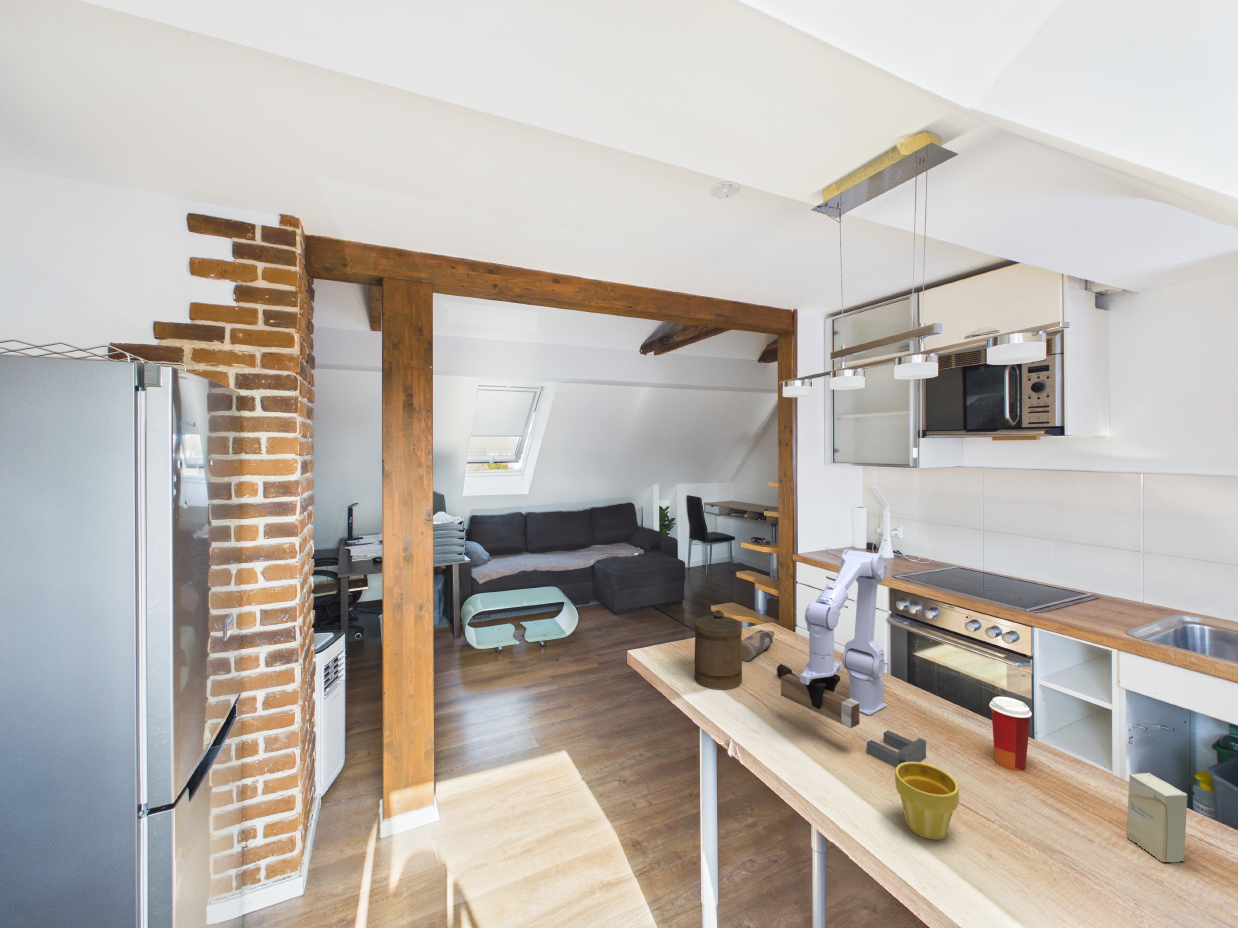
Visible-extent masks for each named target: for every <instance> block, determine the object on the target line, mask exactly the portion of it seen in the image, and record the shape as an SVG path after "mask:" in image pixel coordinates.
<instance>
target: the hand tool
mask: <svg viewBox="0 0 1238 928" xmlns="http://www.w3.org/2000/svg"><path fill="white" fill-rule="evenodd" d="M788 674H791V675H793V676H796V677H798V678H800V676H798V675H796V674H795V673H794V672H793V670H792V669H791V668H789V667H788V666H787V665H785V664H782V663H780V664H779V665H778V666H777V667H776V676H777V677H778V678H779V679H780V680H781V677H782V676H785V675H788Z"/></svg>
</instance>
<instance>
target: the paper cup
mask: <svg viewBox="0 0 1238 928" xmlns="http://www.w3.org/2000/svg"><path fill="white" fill-rule="evenodd" d="M988 706H989V708H991V709H990V710H991V719H992V720H991V721H992V723H991V724H992V737H993V741H992V742H993V752H994V754H993V755H994V760H995V763H997V764H998V765H999V766H1000V767H1002V768H1004V769H1007V770H1011V771H1015V772H1023V771H1025V770H1026V765H1027V754H1028V745H1029V734H1030V718H1031V716H1033V714H1032V711H1031V710H1030V707H1029V706H1028V704H1026V703H1025V702H1023V701H1021V700H1018V699H1015V698H1012V697H1007V696H995V697H993V698H992V700H991V701H990V702H989V705H988ZM1024 769H1025V770H1024ZM1022 770H1023V771H1022Z"/></svg>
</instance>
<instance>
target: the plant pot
mask: <svg viewBox="0 0 1238 928" xmlns="http://www.w3.org/2000/svg"><path fill="white" fill-rule="evenodd" d="M894 776H895V777H894V778H895V780H894V782H895V783H894V785H895V789H896V792H897V793H898V795H899V796H900V799H901V805H902V808H903V809H902V810H903V812H904V817H905V818H904V819H905V822H906V825H907V826H908V828H909V829H910V830H911V831H912V832H914V833H915V834H917V835H918V836H920V837H922V838H924V839H928V840H934V841H935V840H938V841H939V840H942V839H944V838H945V837H946V836H947V834H948V831H949V827H950V823H951V820H952V816H953V813H954V812H955V810H956V809H957V808H958V806H959V800H960V799H959V798H960V786H959V784H958V782H957V780H956V779H955V778H954V777H953V776H952V775H951V774H950V773H948V772H946V771H945V770H943V769H941V768H939V767H937V766H935V765H932V764H929V763H924V762H921V761H920V762H905V763H901V764H899V765H898V766H897V767H895V771H894Z"/></svg>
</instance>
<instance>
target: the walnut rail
mask: <svg viewBox="0 0 1238 928" xmlns="http://www.w3.org/2000/svg"><path fill="white" fill-rule="evenodd" d="M796 676H797V675H796ZM796 676H793V675H791V674H788V675H785V676H782V677H781V679H780V696H781V697H783V698H785V699H787V700H788V701H789V700H790V701H791V702H793V703H796V704H798V705H800V706H802V707H804V708H806V709H808V710H811V711H812V712H815V713H816V714H820V715H821V716H823V717H825V718H827V719H830V720H831V721H834V722H836V723H839V724H840V725H842V726H844V727H847V728H848V729H853V728H855V727H857V726H858V725H860V713H861V712H860V702H857V701H855V700H853V699H849V697H845V696H843V695H841V694H838V693H836V692H835V691H834V692H831V691H829V690H827V689H824V692H823V697H822V706H821V709H817V708H815V707H813V706H812V703H811V699H810V695H809V692H808V690H807V687H806V686H805V684H803V683H801V682H800V677H799V676H798V677H799V678H798V677H796Z"/></svg>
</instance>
